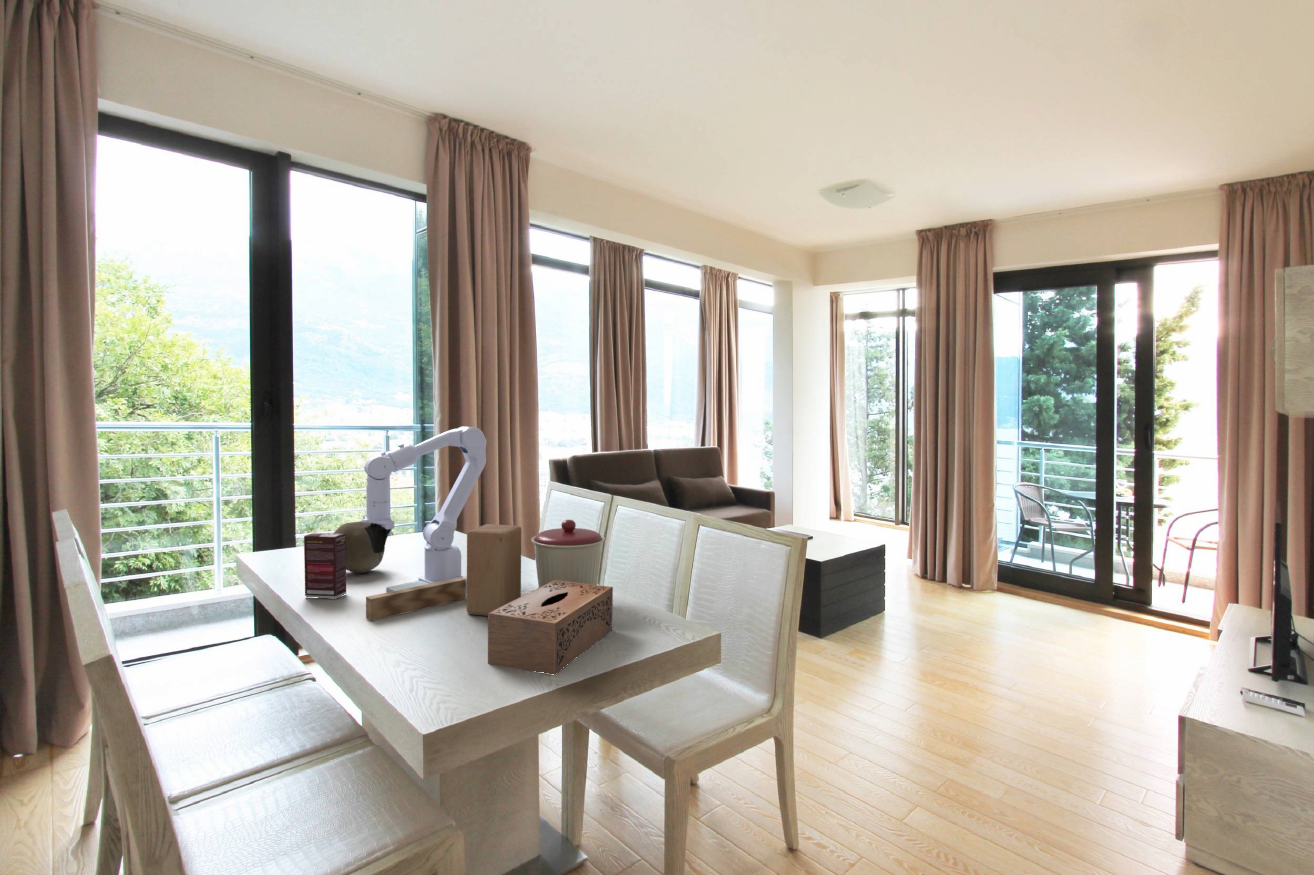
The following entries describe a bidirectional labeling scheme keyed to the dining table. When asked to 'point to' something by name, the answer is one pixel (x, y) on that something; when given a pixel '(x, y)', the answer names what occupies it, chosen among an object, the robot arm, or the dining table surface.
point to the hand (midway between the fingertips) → (378, 552)
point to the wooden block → (493, 567)
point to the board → (415, 598)
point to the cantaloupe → (359, 548)
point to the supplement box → (325, 565)
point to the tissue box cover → (549, 626)
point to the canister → (568, 554)
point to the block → (405, 586)
